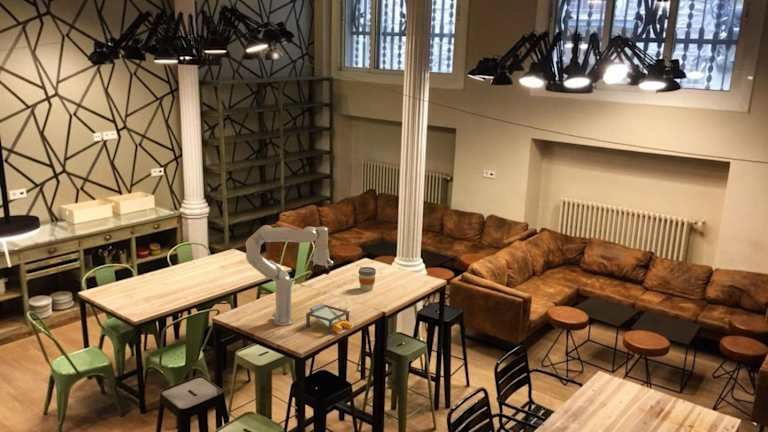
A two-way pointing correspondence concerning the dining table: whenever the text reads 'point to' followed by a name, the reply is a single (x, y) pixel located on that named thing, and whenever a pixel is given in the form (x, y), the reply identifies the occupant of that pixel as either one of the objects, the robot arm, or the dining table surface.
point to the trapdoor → (324, 313)
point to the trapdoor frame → (327, 318)
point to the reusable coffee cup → (367, 278)
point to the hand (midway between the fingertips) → (321, 272)
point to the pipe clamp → (337, 325)
